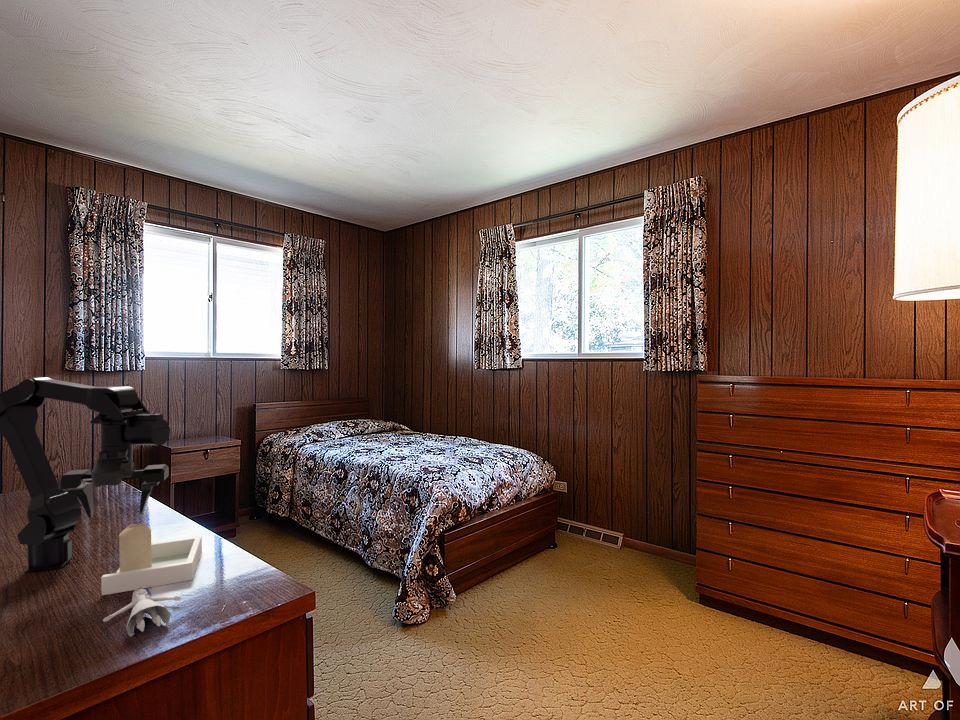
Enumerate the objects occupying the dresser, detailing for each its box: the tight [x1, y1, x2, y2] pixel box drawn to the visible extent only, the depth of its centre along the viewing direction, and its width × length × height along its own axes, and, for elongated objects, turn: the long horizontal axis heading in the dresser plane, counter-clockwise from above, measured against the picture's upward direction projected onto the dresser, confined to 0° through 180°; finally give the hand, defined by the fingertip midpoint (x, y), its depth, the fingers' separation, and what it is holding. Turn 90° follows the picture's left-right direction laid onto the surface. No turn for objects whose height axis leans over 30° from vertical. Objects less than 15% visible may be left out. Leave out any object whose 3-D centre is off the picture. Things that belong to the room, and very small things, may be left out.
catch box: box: [100, 535, 203, 596], centre depth 105 cm, size 15×16×4 cm
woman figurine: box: [102, 587, 183, 637], centre depth 86 cm, size 12×4×18 cm
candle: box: [118, 522, 152, 572], centre depth 103 cm, size 6×6×10 cm
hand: (116, 515), depth 107 cm, fingers open, 9 cm apart
